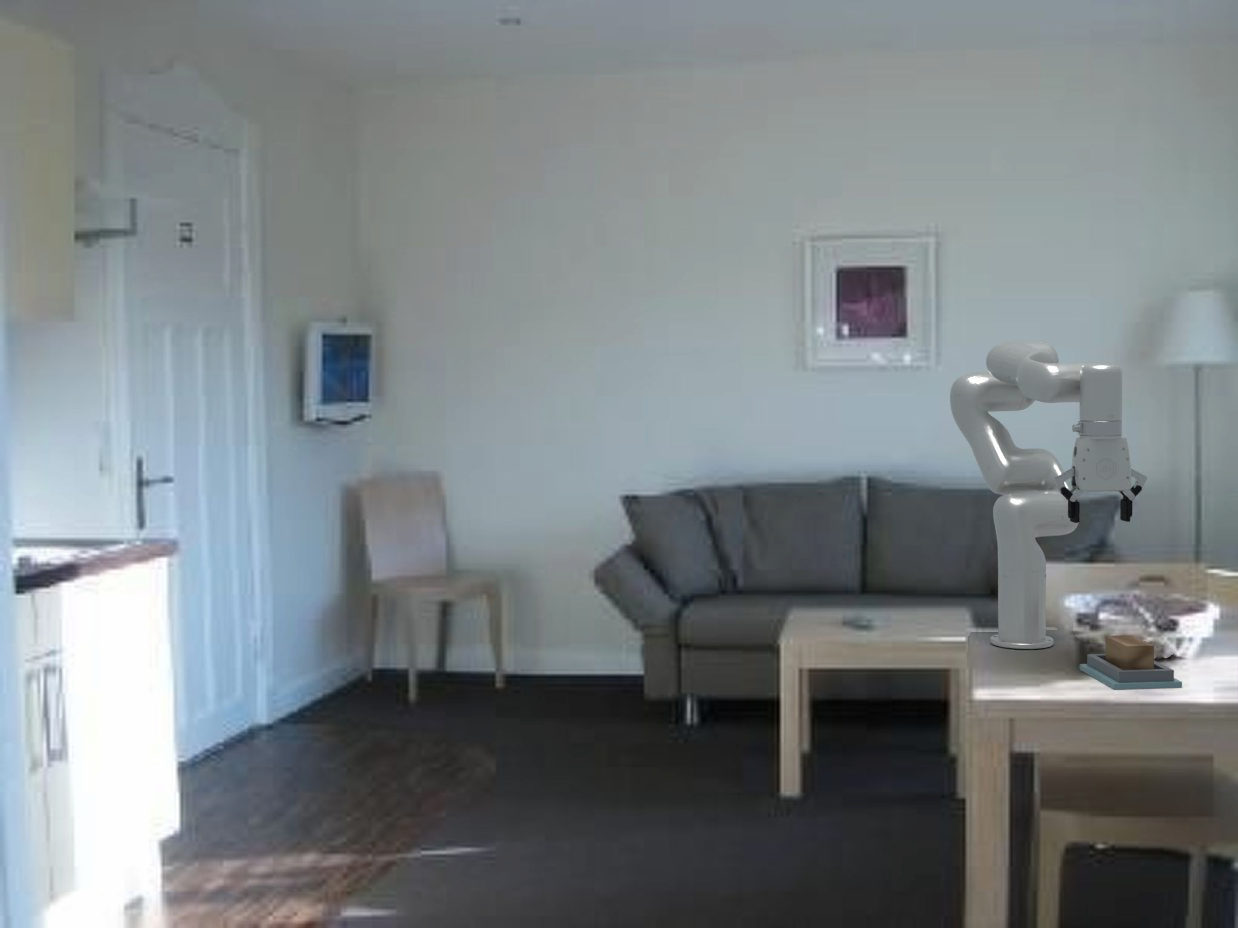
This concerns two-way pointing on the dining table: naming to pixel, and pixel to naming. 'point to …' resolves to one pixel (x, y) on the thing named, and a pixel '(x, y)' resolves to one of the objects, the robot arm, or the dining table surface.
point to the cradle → (1129, 675)
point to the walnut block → (1129, 652)
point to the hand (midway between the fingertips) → (1100, 521)
